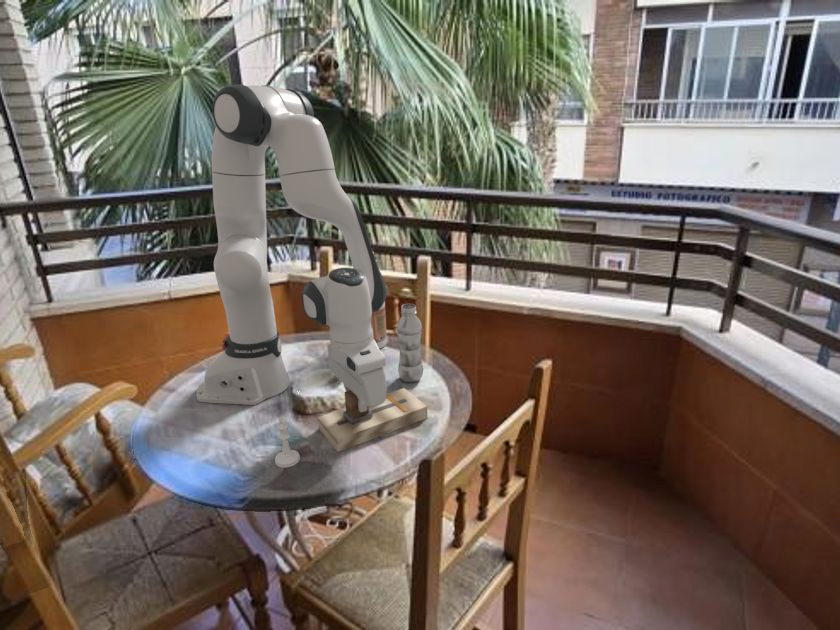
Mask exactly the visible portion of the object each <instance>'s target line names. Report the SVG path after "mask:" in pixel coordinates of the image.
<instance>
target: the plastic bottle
mask: <svg viewBox="0 0 840 630" xmlns="http://www.w3.org/2000/svg"><path fill="white" fill-rule="evenodd" d="M400 308H401V309H400V311H401V312H400V314H401V317H400V318H399V319H398V321H397V323H396V333H397V338H398V347H399V360H398V361H399V362H398V370H397V372H398V376H399V378H400V379H401V380H402V381H403V382H407V383H412V382H413V383H414V382H418V381H420V380H421V378H422V377H423V374H424V365H423V361H422V352H421V340H422V331H423V330H422V329H423V324H422V322H421V319H420V318H419V317H418V316H417V306H416V305H415V304H414V303H404V304H402V305H401V307H400Z"/></svg>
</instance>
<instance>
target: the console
mask: <svg viewBox="0 0 840 630" xmlns="http://www.w3.org/2000/svg"><path fill="white" fill-rule="evenodd" d="M369 410H370V411H371V412H372V416H373V417H371V418H368V419H365V420H362V421H360V422H357V423H354V424H351V423H350V422H349V421H348V420H347V419H346V418H345V417H344V416H343V412H344V411H346V407H345V408H341V409H338V410H335V411H332V412H329V413H326V414H323V415H321V416H317V425H318V426H317V427H318V430H319V429H320V430H319V432H321V434H322V435H323V434H324V435H323V436H324V437H325V438H326V439H327V440H329V441H328V442H329V443H330V444H331V445H332V446H333V448H334V449H335V450H336V451H337V452H338V453H339V452H341V451H345V450H347V449H349V448H352V447H355V446H357V445H360V444H363V443H366V442H368V441H370V440H373V439H375V438H379V437H381V436H384V435H386V434H389V433H391V432H394V431H396V430H399V429H402V428H404V427H407V426H410V425H412V424H415V423H417V422H420V421H423V420H425V419H427V418H428V405H426V404H425V403H424V402H423V401H421V400H420V399H419V398H417V397H416V396H415V395H413V393H411V392H410V391H408V390H407V389H406V388H405V387H402V388H400V389H397V390H393V391H391V392H388V393H386V399H385V401H384V403H383V404H380V405H378V406H375V407H372V408H369Z"/></svg>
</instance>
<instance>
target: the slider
mask: <svg viewBox="0 0 840 630" xmlns="http://www.w3.org/2000/svg"><path fill="white" fill-rule="evenodd" d="M343 393H344V401H345V408H346V411H344V412H343V416H344V417H345V418H346V419H347V420H348V421H349V422H350V423H351V424H354V423H357V422H360V421H362V420H365V419H368V418H371V417H373V416H372V412H371V411H370V410H369V407H368V406H367V410H366V411H364V412H360V411H359V410H358V409H357V406H356V403H357V402H358V400H359V399H358V398H357V396H356V395H355V394H354V393H353V392H352V391H351V390H349V391H346V390H345V391H344V392H343Z"/></svg>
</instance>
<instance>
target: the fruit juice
mask: <svg viewBox="0 0 840 630" xmlns="http://www.w3.org/2000/svg"><path fill="white" fill-rule="evenodd" d="M373 254H374V255H375V252H374V251H373ZM386 315H387V314H386V300H385V301H384V303H383V305H382V307H381V308H380V309H379V310H378V311H377V312H374V313H372V316H371V326H372V329H373V336H374V340H375V341H376V344H377V346H378V348H379V349H383V348H384V347H385V346H386V345H387V342H388V337H387V321H386V320H387V318H386Z"/></svg>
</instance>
